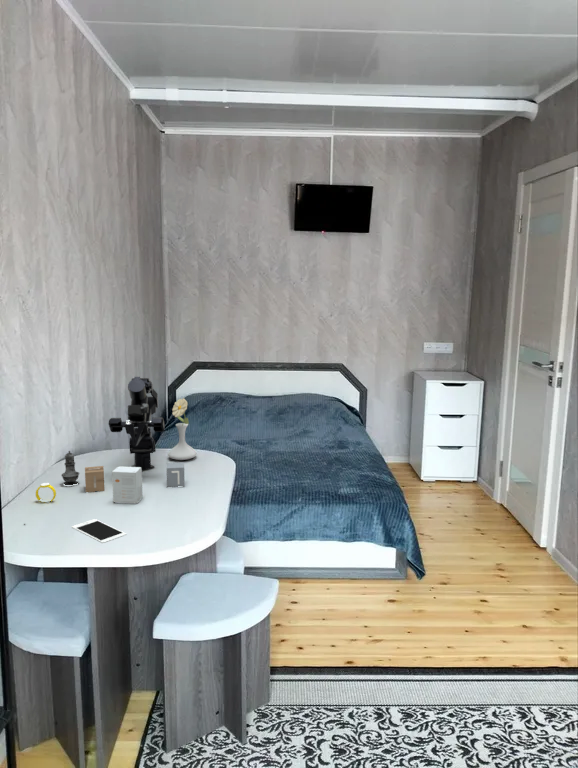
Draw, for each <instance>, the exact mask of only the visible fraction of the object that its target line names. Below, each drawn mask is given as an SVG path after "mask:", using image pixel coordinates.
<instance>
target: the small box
mask: <svg viewBox="0 0 578 768" xmlns="http://www.w3.org/2000/svg"><path fill="white" fill-rule="evenodd" d="M142 471H143V470H142V469H141V467H131V466H117V467H115V469H113V470H112V471H111V479H112V483H111V484H112V499H113V501H112V502H113V503H114V502H115V503H117V504H133V505H134V504H135V505H137V504H138V503H139V502H140V501H141V500H142V498H143V497H144V495H143V472H142Z"/></svg>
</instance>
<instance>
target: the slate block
mask: <svg viewBox="0 0 578 768" xmlns="http://www.w3.org/2000/svg"><path fill="white" fill-rule="evenodd" d="M165 467H166V469H165V470H166V488H167V487H172V488H179V487H178V486H186V485H185V462H166V466H165Z"/></svg>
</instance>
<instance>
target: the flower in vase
mask: <svg viewBox="0 0 578 768" xmlns="http://www.w3.org/2000/svg"><path fill="white" fill-rule="evenodd" d="M187 409H188V401H187V400H186V399H185V397H183V398H179V399H177V401H175V402H174V405H173V407H172V409H171V410H172V412H171V413H172V416H174V418H177V419H178V420H179V421H181V422H178V423H176V424H175V427H176V428H177V431H178V443H177V444H175V446H174V447H172V448H171V449H170V450H169V451H168V453H167V456H168V458H170V459H173V460H177V461H178V460H179V461H184V460H191V459H193V458H195V457H196V456H197V455H198V454H197V451H196V449H194V448H193V447H192V446H190V445H189V444H188V443H187V442H186V430H187V427H188V426H189V423H190V422H189V418H188V417H186V413H185V412H186V410H187ZM181 416H184V418H182V417H181Z"/></svg>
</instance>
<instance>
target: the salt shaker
mask: <svg viewBox="0 0 578 768" xmlns="http://www.w3.org/2000/svg"><path fill="white" fill-rule="evenodd" d="M64 459H65V460H64V461H65V463H64V466H65V471H64V472H63V473H61V477H62V479H63V481H64V482H63V483H64V484H65V485H73V484H77V483H78V482H79V481H77V480H78V478H79V475H80V472H78V471H76V468H75V467H76V466H75V465H76V462H75V454H74V453H72V452H71V450H68V453H66V454H65V455H64Z"/></svg>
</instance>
